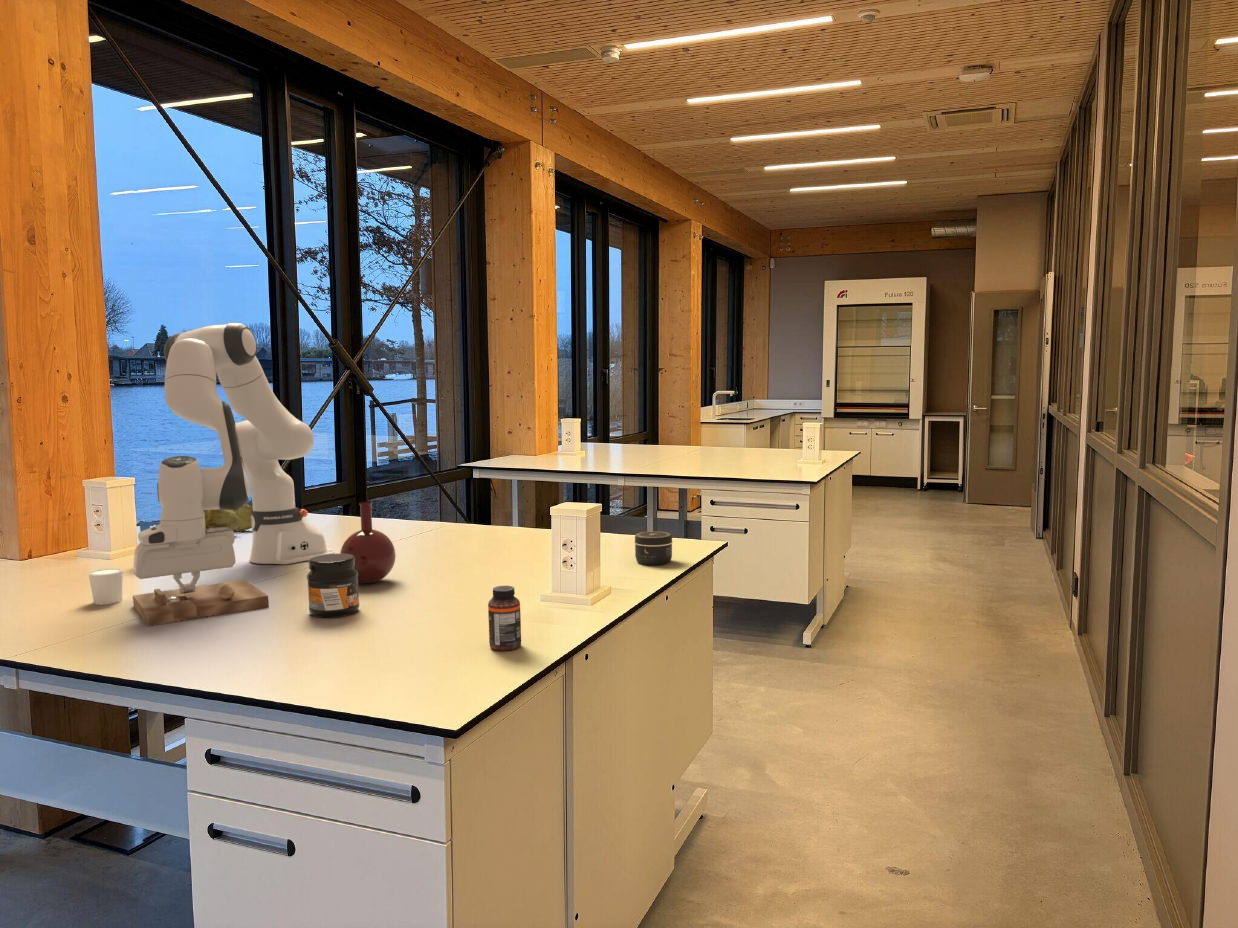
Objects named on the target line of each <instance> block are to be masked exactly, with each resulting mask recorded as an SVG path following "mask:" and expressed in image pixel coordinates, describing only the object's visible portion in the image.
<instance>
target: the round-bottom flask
mask: <svg viewBox="0 0 1238 928" xmlns="http://www.w3.org/2000/svg"><path fill="white" fill-rule="evenodd" d="M372 504H373V501H366V500H365V501H360V502H358V505H359V506H360V507H359V508H360V530H358V531H355V532H353V533H352V534H351V535H349V536H348V537H347V539H345V541H344V542H343V544H342V545H341V549H340V553H339V554H351V555H353V556H355V566H354V567H355V568H356V569H357V571H358V583H360V584H373V583H376V582H379V581H381V580H383V579H384V578H386V577H387V576H388V575H389V574H390V572H391V571H392V570H393V568H394V565H395V564H396V563H395V562H396V556H397V555H396V548H395V545H394V543H393V542H392V540H391V538H390V537H388V535H386V534H385V533H383V532H382V531H379V530H376V529H373V517H372V515H373V513H372Z"/></svg>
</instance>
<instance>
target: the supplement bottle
mask: <svg viewBox="0 0 1238 928" xmlns="http://www.w3.org/2000/svg"><path fill="white" fill-rule="evenodd" d="M515 594H516V592H515V587H514V586H512V585H497V586H495V587H493V588H492V597H491V599H489V601H488V603H487V609H488V616H487V617H488V638H489V639H488V640H489V641H488V643H489V647H490V648H491V649H492V650H494V651H499V652H506V651H507V652H509V651H514V650H516V649H519V648H520V647H521V645H522V624H521V623H522V622H521V621H522V620H521V618H522V617H521V601H520V599H519V598H518V597H515Z"/></svg>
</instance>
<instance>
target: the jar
mask: <svg viewBox="0 0 1238 928" xmlns="http://www.w3.org/2000/svg"><path fill="white" fill-rule="evenodd" d="M634 549H635V550H634V551H635V552H634V553H635V555H634V557H635V559H636V563H637V564H638V565H641V566H645V567H646V566H649V567H659V566H667V565H668V564H670V563H671V561H672V557H673V535H672V534H671V533H670V532H666V531H656V530H655V531H654V530H653V531H641V532H637V533H635V536H634Z"/></svg>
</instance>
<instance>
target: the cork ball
mask: <svg viewBox="0 0 1238 928" xmlns="http://www.w3.org/2000/svg"><path fill="white" fill-rule="evenodd" d="M234 594H235V590H234V588H233V587H232V586H231V585H224V586H222V587H221V588H220V590H219V596H220V597H221V598H222V599H225V600H227V599H230V598H232V597H233V596H234Z"/></svg>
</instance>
